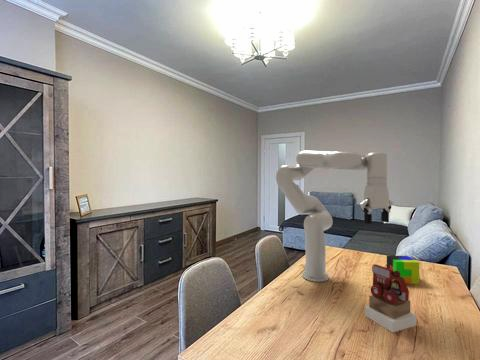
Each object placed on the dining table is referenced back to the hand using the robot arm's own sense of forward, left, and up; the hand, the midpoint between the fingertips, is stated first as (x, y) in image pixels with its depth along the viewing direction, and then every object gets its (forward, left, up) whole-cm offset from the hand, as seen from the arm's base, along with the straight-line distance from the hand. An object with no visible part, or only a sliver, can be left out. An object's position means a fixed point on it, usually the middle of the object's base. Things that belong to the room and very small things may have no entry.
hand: (376, 222), depth 111 cm
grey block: (+17, -13, -31) cm, 37 cm away
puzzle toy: (-7, +25, -31) cm, 40 cm away
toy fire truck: (+16, -13, -23) cm, 31 cm away
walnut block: (+16, -13, -27) cm, 34 cm away
